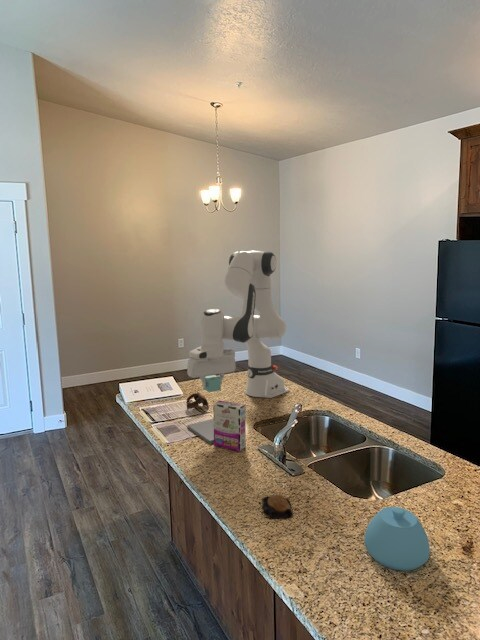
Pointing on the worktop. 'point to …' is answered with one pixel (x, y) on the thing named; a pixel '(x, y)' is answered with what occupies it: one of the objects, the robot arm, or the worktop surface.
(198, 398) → the brown arched frame
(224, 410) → the candy bar box
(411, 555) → the sugar bowl
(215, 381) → the teal block
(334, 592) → the worktop surface
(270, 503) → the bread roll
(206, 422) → the slate board
